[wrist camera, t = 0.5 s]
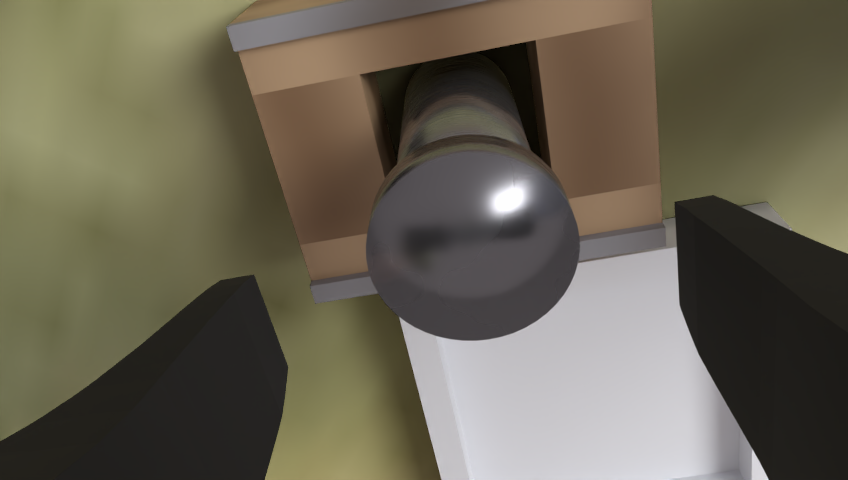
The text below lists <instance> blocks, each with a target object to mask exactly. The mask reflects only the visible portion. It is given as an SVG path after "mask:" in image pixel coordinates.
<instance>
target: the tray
mask: <svg viewBox="0 0 848 480" xmlns="http://www.w3.org/2000/svg"><path fill="white" fill-rule="evenodd" d="M740 207H742V208H744V209H746V210H748V211H751V212H753V213H755V214H757V215H759V216H761V217H763V218H765V219H768V220H770V221H772V222H774V223H776V224H778V225H780V226H783V227H785V228H787V229H789V230H791V231H792V228H791V227H790V226H789V225H788V224H787V223H786V222H785V221H784V220H783V219H782V218H781V217H780V215H779V214H778V213H777V212H776V211H775V210H774V209H773V208H772V207H771V206H770V205H769V204H768V203H767V202H764V203H758V204H752V205H746V206H740ZM662 222H663V224H664V226H665V227H666V247H660V248H654V249H648V250H642V251H635V252H629V253H623V254H617V255H611V256H605V257H599V258H593V259H586V260H580V261H578V264H577V268H576V272H575V274H574V277H573V279H572V281H571V284H570V286H569V287H568V289H567V290H566V292H565V294H564V295H563V296H562V298H561V299H560V300H559V302H558V303H557V304H556V305H555V306H554V307H553V308H552V309H551V310H550V311H549V312H548V313H547V314H545V315H544V316H543V317H541V318H540V319H539V320H538V321H536V322H534V323H533V324H531V325H529V326H528V327H526V328H524V329H521V330H519V331H517V332H515V333H512V334H509V335H506V336H503V337H498V338H494V339H489V340H479V341H461V340H452V339H447V338H442V337H438V336H435V335H432V334H429V333H426V332H424V331H422V330H420V329H417V328H415V327H413V326H412V325H410V324H409V323H407V322H405V321H404V320H403V319H401V318H400V317H399V319H400V322H401V326H402V330H403V334H404V338H405V342H406V345H407V349H408V353H409V357H410V361H411V365H412V368H413V372H414V376H415V380H416V384H417V388H418V392H419V395H420V399H421V403H422V407H423V411H424V415H425V418H426V422H427V426H428V430H429V434H430V438H431V441H432V445H433V449H434V453H435V457H436V461H437V465H438V468H439V472H440V476H441V480H769V479H768V477H767V475H766V473H765V472H764V470H763V468H762V466H761V464H760V462H759V460H758V458H757V456H756V455H755V453H754V451H753V449H752V448H751V446H750V444H749V442H748V441H747V439H746V437H745V435H744V434H743V432H742V430H741V428H740V427H739V425H738V423H737V421H736V420H735V418H734V416H733V415H732V413H731V411H730V409H729V408H728V406H727V404H726V402H725V401H724V399H723V397H722V395H721V394H720V392H719V390H718V388H717V387H716V385H715V383H714V381H713V379H712V378H711V376H710V374H709V372H708V371H707V369H706V367H705V365H704V363H703V362H702V360H701V358H700V356H699V354H698V352H697V349H696V347H695V344H694V342H693V340H692V337H691V335H690V332H689V329H688V327H687V324H686V322H685V319H684V316H683V314H682V311H681V308H680V306H679V285H678V264H677V242H676V221H675V217H674V218H668V219H662Z"/></svg>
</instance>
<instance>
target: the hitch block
mask: <svg viewBox="0 0 848 480" xmlns="http://www.w3.org/2000/svg"><path fill="white" fill-rule="evenodd" d="M226 28H227V32H228V35H229V38H230V41H231V44H232V47H233V50H234V52H235V51H238V53H239V57H240V60H241V63H242V66H243V69H244V72H245V75H246V78H247V82H248V85H249V88H250V91H251V94H252V97H253V100H254V103H255V106H256V110H257V113H258V116H259V119H260V122H261V125H262V128H263V131H264V135H265V138H266V141H267V144H268V147H269V150H270V153H271V156H272V160H273V163H274V166H275V169H276V172H277V175H278V178H279V181H280V185H281V188H282V191H283V194H284V197H285V200H286V203H287V206H288V209H289V213H290V216H291V219H292V222H293V225H294V228H295V231H296V234H297V238H298V241H299V244H300V247H301V250H302V253H303V256H304V259H305V263H306V266H307V269H308V272H309V275H310V278H311V284H310V289H311V292H312V295H313V298H314V301H315V304H316V303H322V302H328V301H335V300H341V299H347V298H353V297H359V296H365V295H371V294H378V292H377V290H376V288H375V286H374V285H373V283H372V280H371V277H370V274H369V271H368V266H367V261H366V240H367V232H368V226H369V221H370V215H371V210H372V206H373V202H374V199H375V196H376V194H377V192H378V189H379V187H380V186H381V184H382V182H383V181H384V179H385V177H386V176H387V175H388V174H389V173H390V171H391V170H392V169H393V168H394V167H395V166H396V165H397V163H396V159H395V154H394V150H393V146H392V142H391V137H390V133H389V129H388V124H387V120H386V116H385V112H384V107H383V103H382V99H381V95H380V90H379V86H378V82H377V77H376V73H375V71H380V70H385V69H390V68H395V67H400V66H405V65H410V64H416V63H421V62H426V61H431V60H436V59H441V58H446V57H451V56H456V55H462V54H467V53H472V52H477V51H482V50H487V49H492V48H497V47H502V46H508V45H513V44H518V43H523V42H526V46H527V54H528V61H529V69H530V77H531V84H532V92H533V99H534V107H535V115H536V122H537V130H538V137H539V145H540V153H541V159H542V160H543V161H544V162H545V163H546V164H547V165H548V166H549V167H550V168H551V169H552V170H553V172H554V173H555V174H556V176H557V177H558V179H559V180H560V182H561V184H562V186H563V188H564V190H565V193H566V195H567V198H568V200H569V203H570V206H571V208H572V211H573V214H574V217H575V219H576V222H577V226H578V231H579V237H580V252H579V261H580V260H586V259H593V258H599V257H605V256H611V255H617V254H623V253H629V252H635V251H642V250H648V249H654V248H660V247H666V227H665V226H664V224H663V222H662V201H661V181H660V160H659V139H658V119H657V98H656V77H655V57H654V36H653V15H652V0H259V1H256V2H254V3H253V4H252V5H251V6H250V7H249V8H247V9H246V10H245V11H244V12H243V13H242V14H240V15H239V16H238V17H237V18H236V19H235V20H233V21H232V22H231V23H230V24H229V25H228V26H226Z"/></svg>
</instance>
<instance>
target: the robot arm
mask: <svg viewBox="0 0 848 480" xmlns="http://www.w3.org/2000/svg"><path fill="white" fill-rule="evenodd" d="M675 221H676V242H677V264H678V285H679V306H680V308H681V311H682V314H683V316H684V319H685V322H686V324H687V327H688V329H689V332H690V335H691V337H692V340H693V342H694V344H695V347H696V349H697V352H698V354H699V356H700V358H701V360H702V362H703V363H704V365H705V367H706V369H707V371H708V372H709V374H710V376H711V378H712V379H713V381H714V383H715V385H716V387H717V388H718V390H719V392H720V394H721V395H722V397H723V399H724V401H725V402H726V404H727V406H728V408H729V409H730V411H731V413H732V415H733V416H734V418H735V420H736V421H737V423H738V425H739V427H740V428H741V430H742V432H743V434H744V435H745V437H746V439H747V441H748V442H749V444H750V446H751V448H752V449H753V451H754V453H755V455H756V456H757V458H758V460H759V462H760V464H761V466H762V468H763V470H764V472H765V473H766V475H767V477H768V479H769V480H848V254H847V253H844V252H841V251H839V250H836V249H834V248H831V247H829V246H826V245H824V244H821V243H819V242H817V241H814V240H812V239H809V238H807V237H805V236H803V235H800V234H798V233H796V232H794V231H791V230H789V229H787V228H785V227H783V226H780V225H778V224H776V223H774V222H772V221H770V220H768V219H765V218H763V217H761V216H759V215H757V214H755V213H753V212H751V211H748V210H746V209H744V208H742V207H740V206H738V205H736V204H733V203H731V202H729V201H727V200H724V199H722V198H719V197H716V196H713V195H712V196H706V197H701V198H695V199H689V200H683V201H678V202H675ZM287 372H288V365H287V362H286V360H285V357H284V354H283V352H282V349H281V346H280V344H279V341H278V338H277V336H276V333H275V330H274V327H273V325H272V322H271V319H270V317H269V314H268V311H267V309H266V306H265V303H264V300H263V298H262V295H261V292H260V290H259V287H258V284H257V282H256V279H255V276H254V275H249V276H243V277H237V278H231V279H225V280H221V281H219V282H217V283H216V284H214V285H213V286H211V287H210V288H209V289H207V290H206V291H205V292H203V293H202V294H201V295H200V296H198V297H197V298H196V299H195V300H194V301H192V302H191V303H190V304H189V305H188V306H186V307H185V308H184V309H183V310H182V311H180V312H179V313H178V314H177V315H176V316H175V317H173V318H172V319H171V320H170V321H169V322H167V323H166V324H165V325H164V326H163V327H161V328H160V329H159V330H158V331H157V332H156V333H154V334H153V335H152V336H151V337H150V338H148V339H147V340H146V341H145V342H144V343H143V344H141V345H140V346H139V347H138V348H136V349H135V350H134V351H132V352H131V353H130V354H129V355H127V356H126V357H125V358H124V359H122V360H121V361H120V362H118V363H117V364H116V365H115V366H113V367H112V368H111V369H109V370H108V371H107V372H106V373H104V374H103V375H102V376H101V377H99V378H98V379H97V380H95V381H94V382H93V383H91V384H90V385H89V386H87V387H86V388H84V389H83V390H82V391H80V392H79V393H77V394H76V395H74V396H73V397H72V398H70V399H69V400H67V401H66V402H64V403H63V404H61V405H60V406H58V407H56V408H55V409H53V410H52V411H50V412H49V413H47V414H46V415H44V416H43V417H41V418H40V419H38V420H36V421H35V422H33V423H32V424H30V425H28V426H27V427H25V428H23V429H21V430H20V431H18V432H16V433H14V434H13V435H11V436H9V437H7V438H6V439H4V440H2V441H0V480H265V476H266V473H267V469H268V466H269V462H270V459H271V455H272V452H273V448H274V444H275V441H276V437H277V433H278V430H279V426H280V422H281V418H282V413H283V406H284V399H285V391H286V382H287Z"/></svg>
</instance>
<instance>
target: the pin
mask: <svg viewBox="0 0 848 480" xmlns="http://www.w3.org/2000/svg"><path fill="white" fill-rule="evenodd" d="M579 252H580V237H579V231H578V226H577V222H576V219H575V217H574V214H573V211H572V208H571V206H570V203H569V200H568V198H567V195H566V193H565V190H564V188H563V186H562V184H561V182H560V180H559V179H558V177H557V176H556V174H555V173H554V172H553V170H552V169H551V168H550V167H549V166H548V165H547V164H546V163H545V162H544V161H543V160H542V159H541V158H540V157H538V156H537V155H536V154H534V153H533V152H532V151H530V147H529V144H528V141H527V138H526V135H525V132H524V128H523V125H522V122H521V119H520V116H519V113H518V110H517V106H516V103H515V100H514V97H513V94H512V91H511V87H510V85H509V82H508V80H507V78H506V76H505V74H504V73H503V72H502V70H501V69H500V68H499V67H498V66H497V65H496V64H495V63H494V62H493V61H491V60H490V59H488V58H487V57H485V56H483V55H481V54H478V53H475V52H472V53H467V54H462V55H456V56H451V57H446V58H441V59H436V60H431V61H426V62H424V63H423V64H422V65H421V66H420V67H419V68H418V69H417V70H416V72H415V73H414V74H413V76H412V78H411V79H410V81H409V84H408V86H407V89H406V93H405V101H404V109H403V118H402V126H401V135H400V143H399V152H398V160H397V165H396V166H395V167H394V168H393V169H392V170H391V171H390V173H389V174H388V175H387V176H386V177H385V179H384V181H383V182H382V184H381V186H380V187H379V189H378V192H377V194H376V196H375V199H374V202H373V206H372V210H371V215H370V221H369V226H368V232H367V240H366V261H367V266H368V271H369V274H370V277H371V280H372V283H373V285H374V286H375V288H376V290H377V292H378V294H379V295H380V297H381V298H382V299H383V301H384V302H385V304H386V305H387V306H388V307H389V308H390V309H391V310H392V311H393V312H394V313H395V314H396V315H398V316H399V317H400V318H401V319H403V320H404V321H405V322H407V323H409V324H410V325H412V326H413V327H415V328H417V329H420V330H422V331H424V332H426V333H429V334H432V335H435V336H438V337H442V338H447V339H452V340H461V341H479V340H489V339H494V338H498V337H503V336H506V335H509V334H512V333H515V332H517V331H519V330H521V329H524V328H526V327H528V326H529V325H531V324H533V323H534V322H536V321H538V320H539V319H540V318H541V317H543V316H544V315H545V314H547V313H548V312H549V311H550V310H551V309H552V308H553V307H554V306H555V305H556V304H557V303H558V302H559V300H560V299H561V298H562V296H563V295H564V294H565V292H566V290H567V289H568V287H569V286H570V284H571V281H572V279H573V277H574V274H575V272H576V268H577V264H578V261H579Z"/></svg>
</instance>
